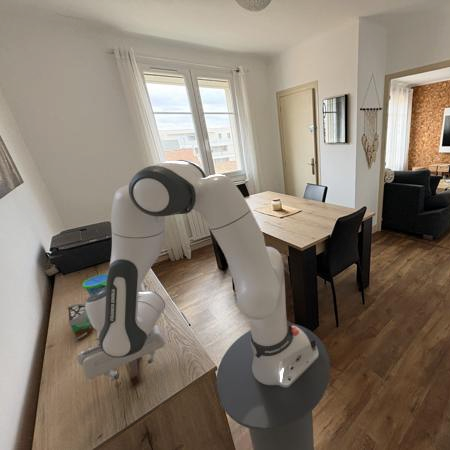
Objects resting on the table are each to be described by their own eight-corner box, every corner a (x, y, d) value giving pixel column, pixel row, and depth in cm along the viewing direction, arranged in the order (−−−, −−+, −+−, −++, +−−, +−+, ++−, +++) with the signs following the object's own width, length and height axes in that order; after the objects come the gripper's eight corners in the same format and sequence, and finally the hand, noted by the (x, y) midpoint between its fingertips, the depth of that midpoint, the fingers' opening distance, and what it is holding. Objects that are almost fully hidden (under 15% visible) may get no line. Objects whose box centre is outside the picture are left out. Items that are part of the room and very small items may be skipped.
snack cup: (125, 294, 117) (118, 276, 113) (102, 308, 108) (93, 289, 104) (106, 288, 123) (99, 271, 119) (82, 300, 114) (74, 282, 110)
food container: (99, 333, 94) (89, 313, 90) (78, 342, 90) (68, 322, 87) (95, 317, 102) (86, 298, 99) (76, 325, 99) (67, 306, 95)
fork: (143, 380, 75) (140, 373, 74) (129, 387, 73) (126, 380, 72) (141, 350, 85) (139, 344, 84) (129, 356, 83) (127, 349, 82)
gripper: (72, 362, 63) (91, 397, 68) (159, 327, 73) (170, 359, 79) (76, 346, 68) (94, 380, 73) (157, 315, 78) (167, 346, 83)
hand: (134, 369), depth 76 cm, fingers open, 8 cm apart
